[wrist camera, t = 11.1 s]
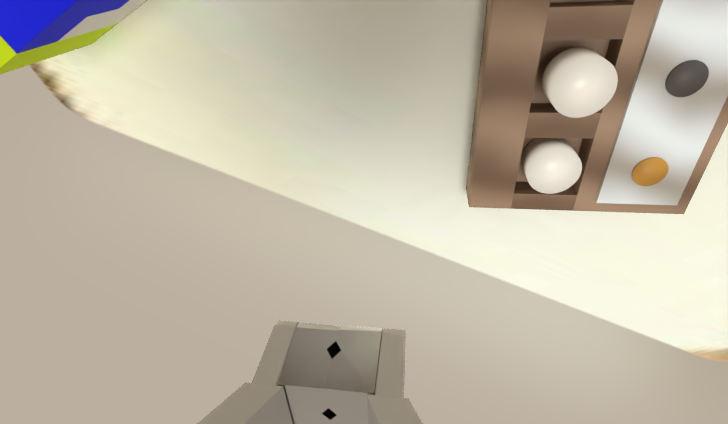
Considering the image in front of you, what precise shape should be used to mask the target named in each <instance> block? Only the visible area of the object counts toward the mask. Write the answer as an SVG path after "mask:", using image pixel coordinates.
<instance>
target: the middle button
mask: <svg viewBox="0 0 728 424" xmlns="http://www.w3.org/2000/svg"><path fill="white" fill-rule="evenodd" d="M617 83H618V76H617V72H616V69H615V68H614V66H613V65H612V64H611V63H610V62H609V61H608V60H606V59H605V58H603V57H602V56H601V55H599V54H598V53H596V52H595V51H594V50H592V49H589V48H585V47H574V48H570V49H567V50H565V51H563V52H561V53H559V54H558V55H557V56H555V57H554V58H553V59H552V60H551V61H550V62H549V64H548V65H547V67H546V69H545V71H544V73H543V77H542V88H543V91H544V93H545V95H546V97H547V98H548V99H549V101H550V102H551V104H552V105H553V106H554V108H555V109H556V110H557V111H558V112H559V113H561V114H562V115H564V116H567V117H572V118H580V117H585V116H589V115H591V114H594V113H596V112H597V111H599V110H600V109H602V108H603V107H604V106H605V105H606V104H607V103H608V102H609V101H610V100H611V98H612V97H613V95H614V93H615V91H616V88H617Z"/></svg>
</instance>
